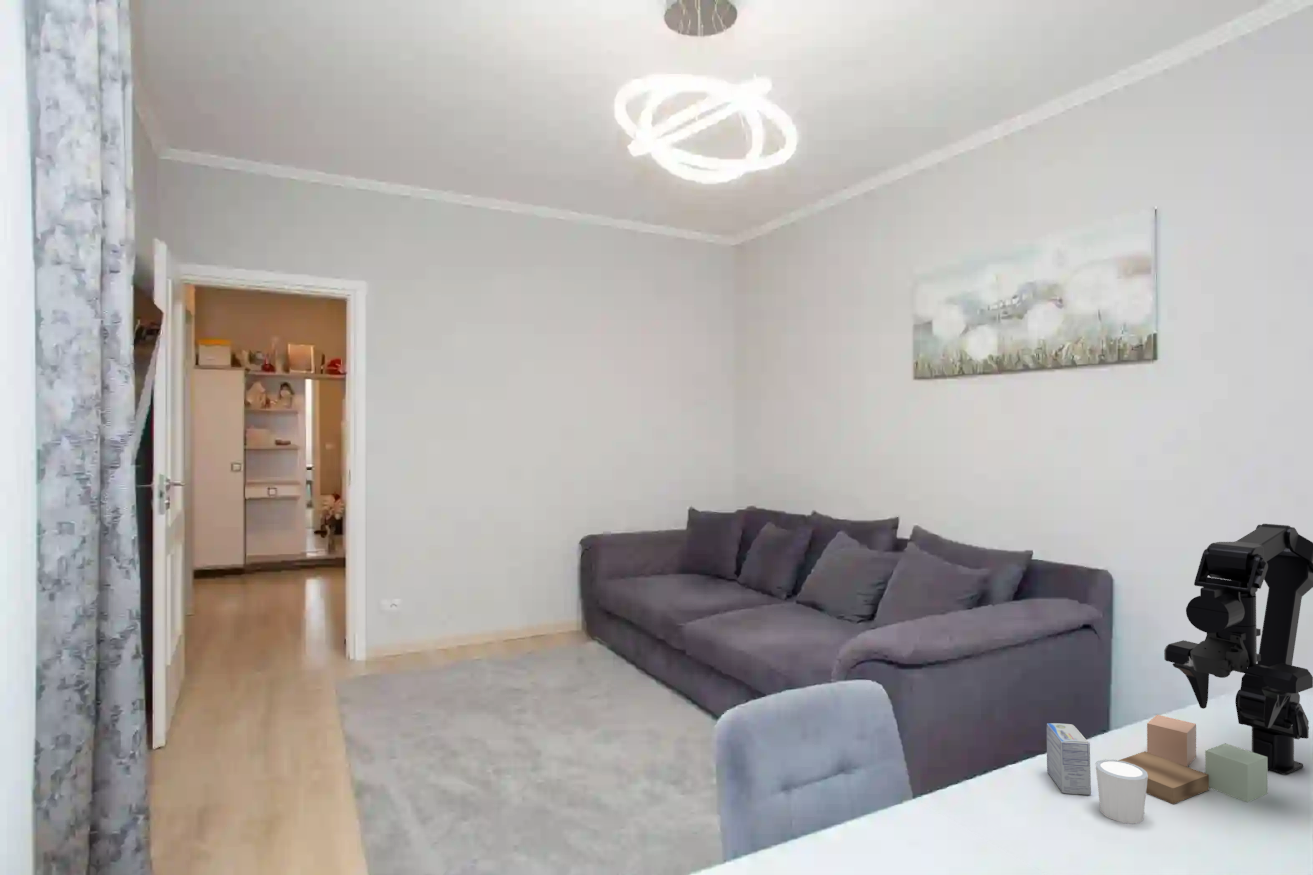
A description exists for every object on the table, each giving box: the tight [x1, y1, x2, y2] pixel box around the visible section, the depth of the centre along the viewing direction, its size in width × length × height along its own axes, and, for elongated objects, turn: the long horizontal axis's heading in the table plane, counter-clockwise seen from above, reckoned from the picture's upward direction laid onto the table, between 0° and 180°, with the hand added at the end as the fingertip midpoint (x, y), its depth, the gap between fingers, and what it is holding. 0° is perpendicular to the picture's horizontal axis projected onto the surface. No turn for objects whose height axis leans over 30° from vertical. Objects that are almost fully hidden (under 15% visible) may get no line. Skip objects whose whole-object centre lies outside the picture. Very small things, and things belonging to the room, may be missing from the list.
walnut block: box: [1117, 750, 1210, 805], centre depth 124 cm, size 10×10×2 cm
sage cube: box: [1204, 742, 1269, 803], centre depth 121 cm, size 6×6×6 cm
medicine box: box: [1046, 722, 1092, 796], centre depth 124 cm, size 8×4×9 cm, turn 168°
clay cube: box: [1146, 714, 1197, 767], centre depth 134 cm, size 6×6×6 cm
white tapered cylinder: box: [1095, 759, 1148, 825], centre depth 114 cm, size 7×7×7 cm
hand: (1234, 717), depth 121 cm, fingers open, 9 cm apart
